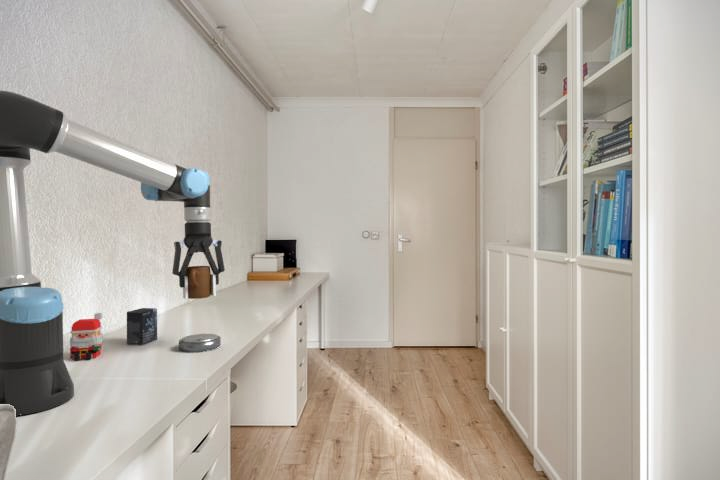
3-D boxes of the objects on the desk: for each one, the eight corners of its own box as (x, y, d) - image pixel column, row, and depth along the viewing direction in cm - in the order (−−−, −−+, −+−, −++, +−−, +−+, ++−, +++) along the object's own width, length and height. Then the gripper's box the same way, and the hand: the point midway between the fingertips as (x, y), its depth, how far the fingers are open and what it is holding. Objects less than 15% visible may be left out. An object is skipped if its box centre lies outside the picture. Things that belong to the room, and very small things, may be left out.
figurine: (65, 362, 121) (64, 318, 121) (74, 355, 128) (73, 314, 128) (99, 359, 123) (98, 316, 123) (107, 353, 130) (106, 312, 130)
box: (142, 345, 139) (141, 311, 138) (126, 344, 140) (125, 311, 140) (158, 339, 146) (157, 307, 146) (143, 339, 147) (142, 307, 147)
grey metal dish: (184, 354, 127) (184, 344, 127) (174, 346, 136) (174, 336, 136) (225, 348, 134) (225, 338, 133) (213, 340, 143) (213, 331, 143)
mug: (206, 300, 129) (205, 268, 128) (178, 301, 127) (178, 269, 127) (212, 294, 140) (212, 265, 140) (187, 296, 139) (187, 266, 139)
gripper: (164, 221, 125) (166, 301, 125) (234, 221, 137) (236, 294, 137) (159, 222, 131) (161, 298, 132) (227, 222, 143) (229, 292, 143)
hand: (199, 296), depth 134 cm, fingers closed on mug, 7 cm apart
